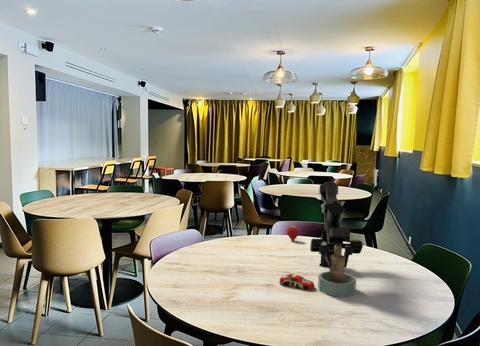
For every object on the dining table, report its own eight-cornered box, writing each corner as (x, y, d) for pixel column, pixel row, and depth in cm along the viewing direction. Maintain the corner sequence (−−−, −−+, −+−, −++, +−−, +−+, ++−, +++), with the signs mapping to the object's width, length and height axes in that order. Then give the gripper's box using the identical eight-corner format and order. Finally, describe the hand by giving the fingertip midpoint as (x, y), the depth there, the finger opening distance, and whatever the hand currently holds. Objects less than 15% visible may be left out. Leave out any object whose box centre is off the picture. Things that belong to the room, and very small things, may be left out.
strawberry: (294, 243, 196) (295, 225, 195) (283, 240, 201) (284, 222, 200) (301, 241, 200) (301, 223, 199) (290, 238, 205) (290, 221, 205)
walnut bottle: (326, 282, 133) (327, 245, 132) (335, 279, 136) (336, 243, 135) (338, 286, 129) (339, 248, 128) (346, 283, 132) (348, 246, 131)
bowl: (313, 291, 130) (313, 279, 130) (325, 280, 141) (325, 269, 141) (349, 299, 124) (350, 287, 123) (358, 287, 135) (359, 275, 134)
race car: (316, 287, 135) (316, 277, 135) (311, 292, 130) (312, 281, 130) (283, 280, 141) (283, 270, 141) (277, 285, 136) (278, 275, 136)
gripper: (311, 217, 135) (314, 255, 125) (362, 219, 134) (369, 257, 124) (309, 233, 144) (311, 269, 134) (357, 234, 142) (362, 271, 132)
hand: (338, 266), depth 131 cm, fingers closed on walnut bottle, 5 cm apart
